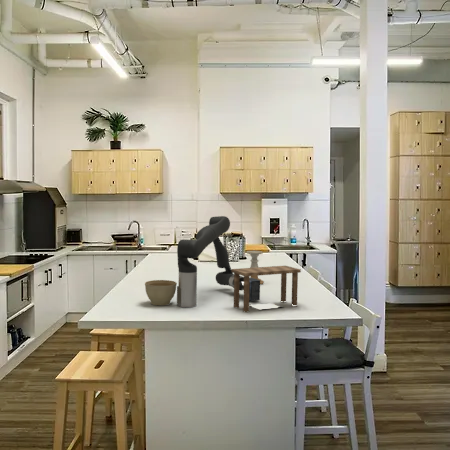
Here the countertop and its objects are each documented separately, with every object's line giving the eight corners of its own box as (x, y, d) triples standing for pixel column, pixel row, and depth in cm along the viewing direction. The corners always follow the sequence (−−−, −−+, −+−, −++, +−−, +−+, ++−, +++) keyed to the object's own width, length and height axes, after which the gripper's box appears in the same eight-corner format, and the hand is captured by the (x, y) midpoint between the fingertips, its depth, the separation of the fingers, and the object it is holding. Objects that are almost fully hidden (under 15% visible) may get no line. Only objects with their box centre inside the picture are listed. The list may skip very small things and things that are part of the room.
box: (243, 297, 270) (243, 278, 269) (252, 296, 272) (252, 277, 272) (250, 300, 263) (251, 280, 262) (260, 300, 265) (260, 280, 265)
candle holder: (240, 282, 321) (241, 250, 320) (257, 281, 327) (257, 250, 326) (250, 285, 311) (251, 253, 309) (267, 284, 316) (268, 252, 315)
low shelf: (244, 312, 242) (245, 273, 240) (230, 306, 254) (231, 269, 253) (299, 306, 256) (300, 269, 255) (284, 301, 269) (285, 265, 267)
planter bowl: (145, 307, 249) (145, 286, 248) (144, 300, 265) (144, 280, 264) (178, 306, 252) (178, 285, 251) (174, 299, 268) (175, 279, 267)
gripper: (226, 276, 277) (241, 282, 262) (249, 274, 284) (265, 280, 269) (226, 290, 278) (241, 296, 263) (249, 288, 284) (264, 294, 269)
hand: (253, 288), depth 266 cm, fingers closed on box, 5 cm apart
